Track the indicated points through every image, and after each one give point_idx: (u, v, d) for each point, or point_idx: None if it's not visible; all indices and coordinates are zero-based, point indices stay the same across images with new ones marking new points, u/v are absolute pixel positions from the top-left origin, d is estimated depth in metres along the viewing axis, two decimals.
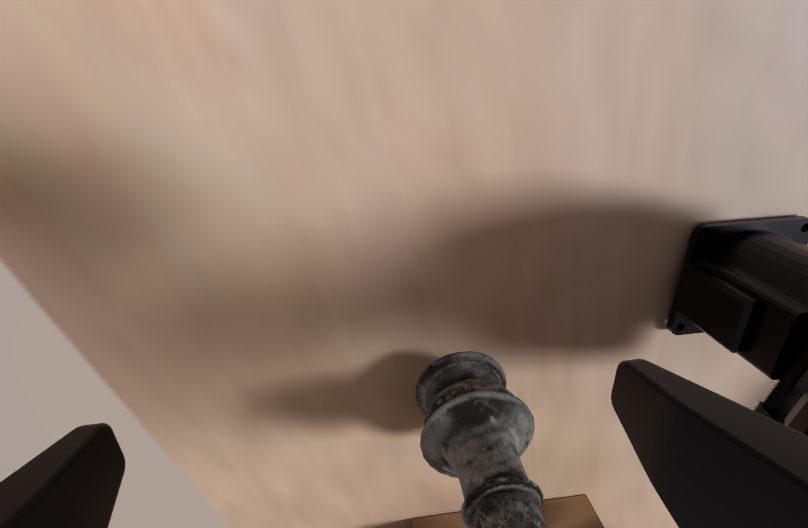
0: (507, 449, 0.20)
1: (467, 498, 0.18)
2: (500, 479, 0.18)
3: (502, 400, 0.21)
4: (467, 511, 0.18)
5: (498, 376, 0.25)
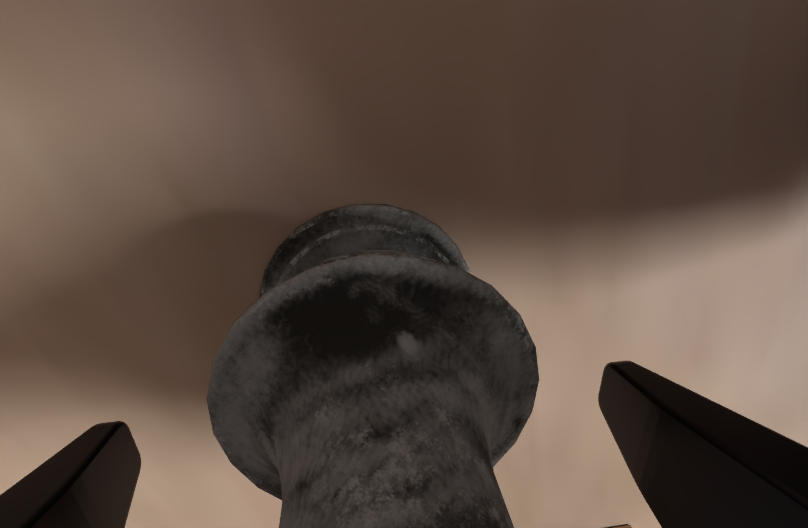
0: (447, 435, 0.06)
1: None
2: None
3: (440, 289, 0.07)
4: None
5: None
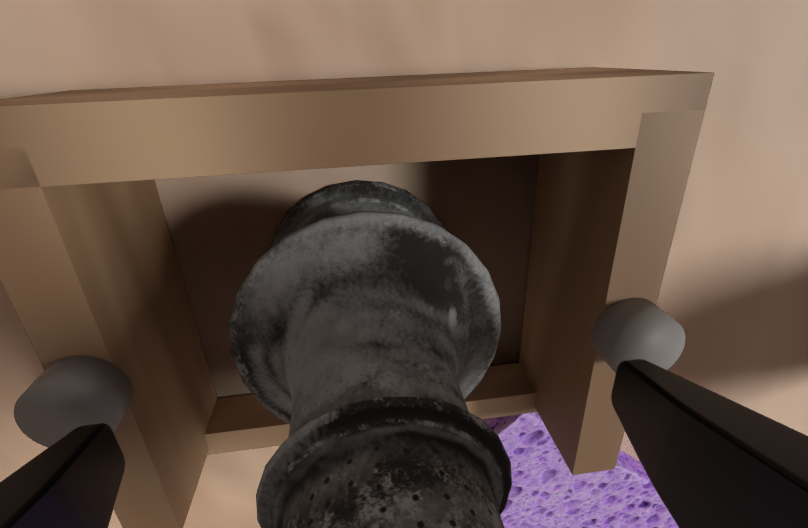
0: (457, 384, 0.08)
1: (352, 407, 0.05)
2: (475, 418, 0.06)
3: (484, 302, 0.09)
4: (318, 444, 0.05)
5: None
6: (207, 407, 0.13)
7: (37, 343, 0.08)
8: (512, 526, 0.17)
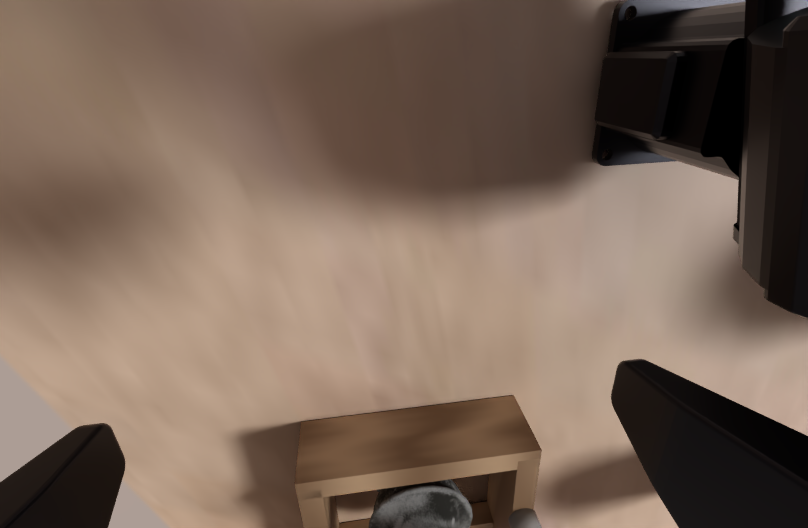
0: None
1: None
2: None
3: (465, 510, 0.24)
4: None
5: None
6: None
7: None
8: None
